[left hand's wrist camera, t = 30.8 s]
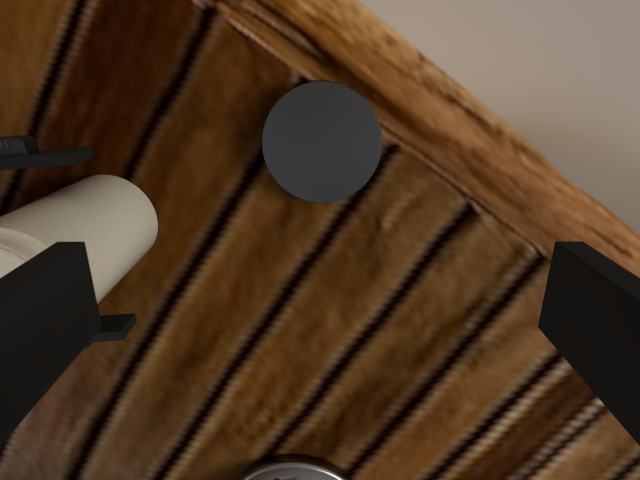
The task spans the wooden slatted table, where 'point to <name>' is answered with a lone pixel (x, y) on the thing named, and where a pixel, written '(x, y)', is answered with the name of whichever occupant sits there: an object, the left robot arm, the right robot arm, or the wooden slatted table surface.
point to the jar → (84, 227)
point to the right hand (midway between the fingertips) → (108, 247)
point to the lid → (322, 141)
